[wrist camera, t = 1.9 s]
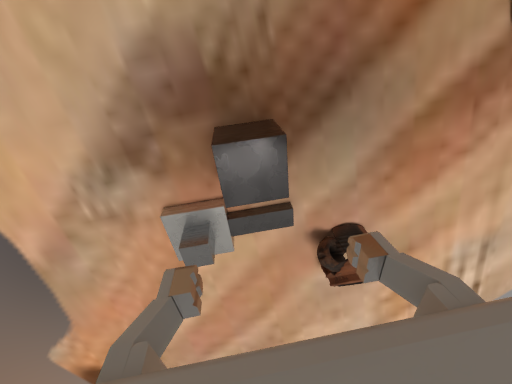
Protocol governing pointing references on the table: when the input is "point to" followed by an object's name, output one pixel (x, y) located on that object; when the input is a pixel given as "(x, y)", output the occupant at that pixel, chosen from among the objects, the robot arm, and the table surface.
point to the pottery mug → (339, 256)
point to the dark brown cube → (251, 162)
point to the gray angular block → (217, 227)
